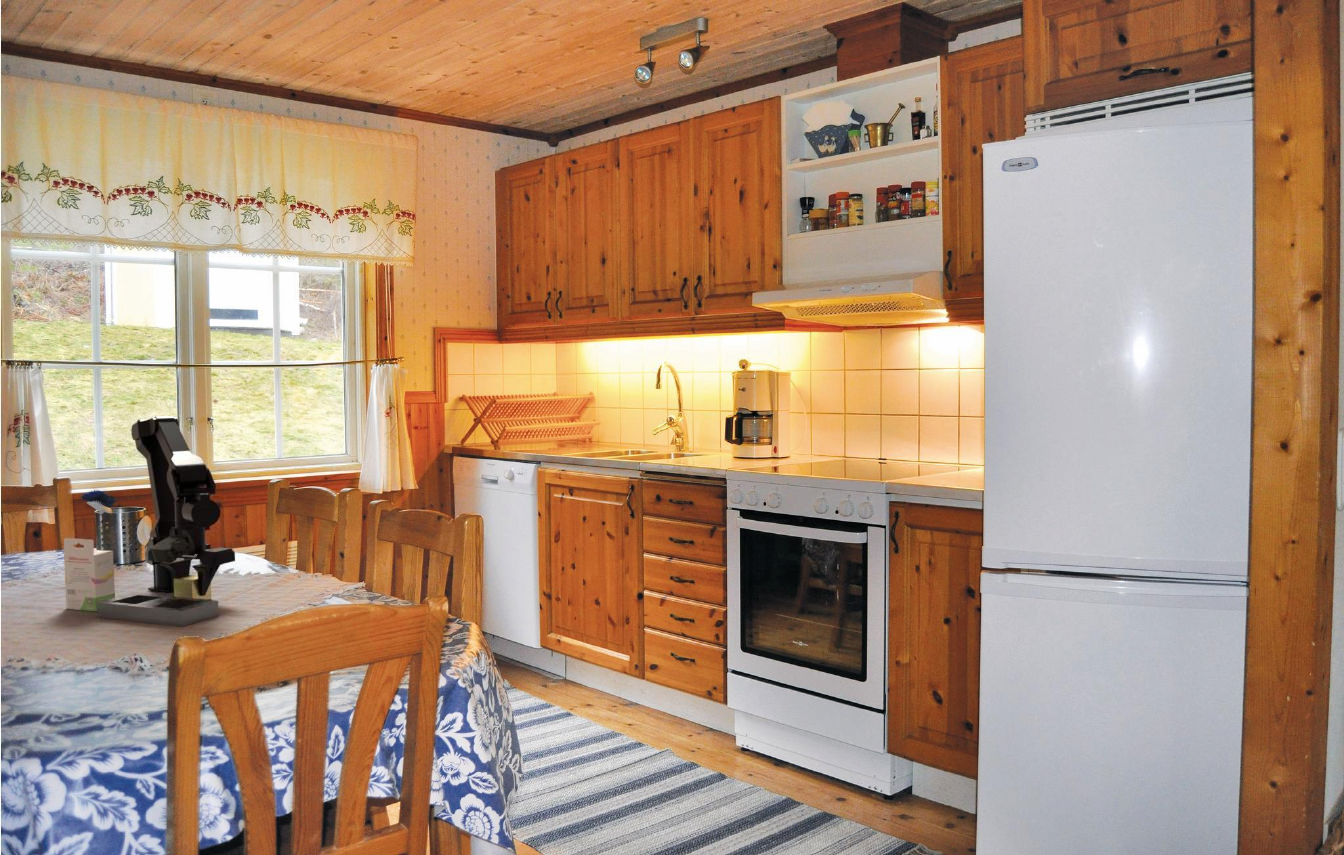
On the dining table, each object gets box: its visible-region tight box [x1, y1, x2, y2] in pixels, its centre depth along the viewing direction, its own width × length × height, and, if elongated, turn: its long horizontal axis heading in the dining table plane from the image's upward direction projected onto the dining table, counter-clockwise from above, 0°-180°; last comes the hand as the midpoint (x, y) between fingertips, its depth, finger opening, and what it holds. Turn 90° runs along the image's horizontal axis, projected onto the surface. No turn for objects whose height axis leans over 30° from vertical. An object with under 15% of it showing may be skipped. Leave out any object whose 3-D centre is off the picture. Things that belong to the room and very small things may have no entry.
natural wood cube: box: [173, 573, 212, 600], centre depth 214 cm, size 5×5×5 cm
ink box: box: [63, 537, 116, 612], centre depth 208 cm, size 9×5×15 cm, turn 71°
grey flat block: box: [96, 592, 220, 628], centre depth 200 cm, size 22×9×3 cm, turn 69°
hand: (192, 594), depth 214 cm, fingers closed on natural wood cube, 5 cm apart
